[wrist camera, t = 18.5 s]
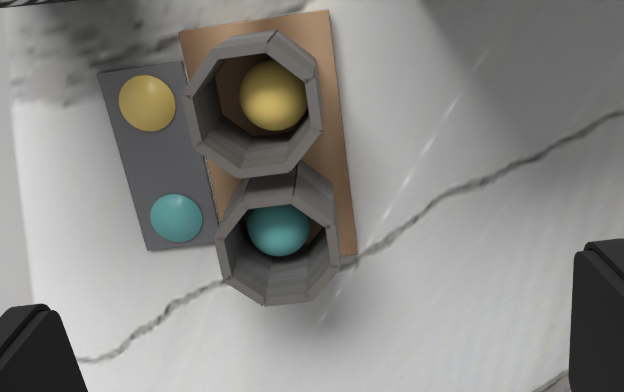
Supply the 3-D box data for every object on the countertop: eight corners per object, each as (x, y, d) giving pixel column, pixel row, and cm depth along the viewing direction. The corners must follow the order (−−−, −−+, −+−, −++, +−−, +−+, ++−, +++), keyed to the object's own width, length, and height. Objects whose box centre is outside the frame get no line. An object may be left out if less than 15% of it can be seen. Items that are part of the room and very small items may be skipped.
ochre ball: (289, 51, 37) (314, 56, 33) (298, 115, 39) (324, 128, 35) (225, 63, 36) (244, 71, 32) (238, 130, 37) (257, 144, 33)
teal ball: (310, 180, 39) (299, 209, 35) (318, 233, 41) (309, 267, 37) (250, 184, 40) (233, 213, 36) (261, 236, 42) (247, 270, 38)
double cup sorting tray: (328, 9, 36) (329, 18, 29) (356, 246, 43) (364, 304, 35) (182, 30, 37) (146, 44, 29) (233, 261, 44) (214, 321, 36)
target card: (182, 61, 38) (180, 62, 37) (222, 239, 43) (220, 243, 42) (99, 72, 38) (96, 74, 38) (148, 248, 43) (146, 251, 43)
